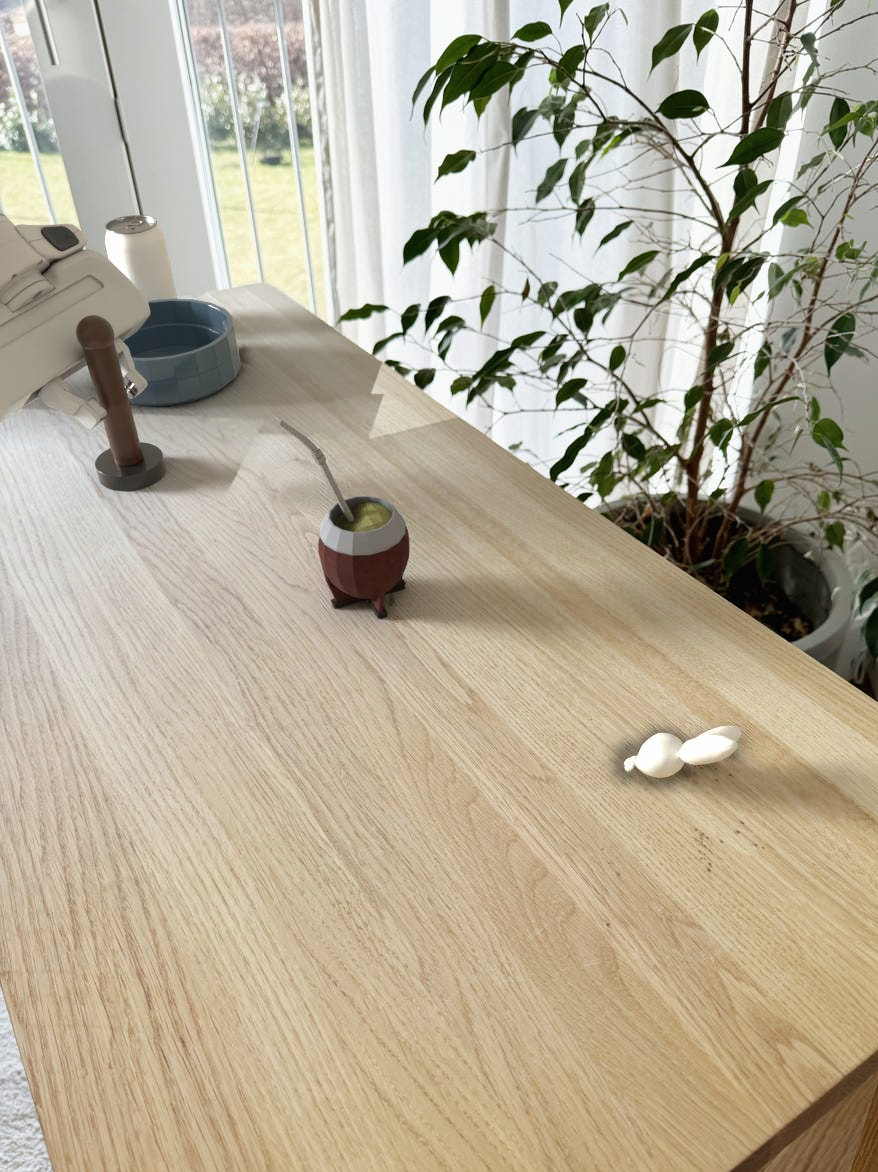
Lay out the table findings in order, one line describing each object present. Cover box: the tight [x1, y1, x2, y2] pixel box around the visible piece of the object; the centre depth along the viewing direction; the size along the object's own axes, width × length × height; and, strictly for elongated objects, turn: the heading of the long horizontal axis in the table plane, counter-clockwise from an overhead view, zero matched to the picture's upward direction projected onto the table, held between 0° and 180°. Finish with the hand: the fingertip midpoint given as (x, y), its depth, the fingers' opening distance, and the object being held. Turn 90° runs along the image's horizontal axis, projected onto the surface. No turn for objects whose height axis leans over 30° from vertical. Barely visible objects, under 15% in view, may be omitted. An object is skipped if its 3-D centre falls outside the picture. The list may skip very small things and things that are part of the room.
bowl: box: [123, 298, 242, 407], centre depth 109 cm, size 15×15×6 cm
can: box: [104, 214, 178, 301], centre depth 116 cm, size 6×6×12 cm
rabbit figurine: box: [623, 725, 743, 779], centre depth 66 cm, size 6×4×8 cm
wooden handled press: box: [76, 315, 167, 492], centre depth 88 cm, size 6×6×16 cm
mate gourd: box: [279, 420, 410, 620], centre depth 77 cm, size 8×8×15 cm
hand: (120, 407), depth 88 cm, fingers open, 4 cm apart
